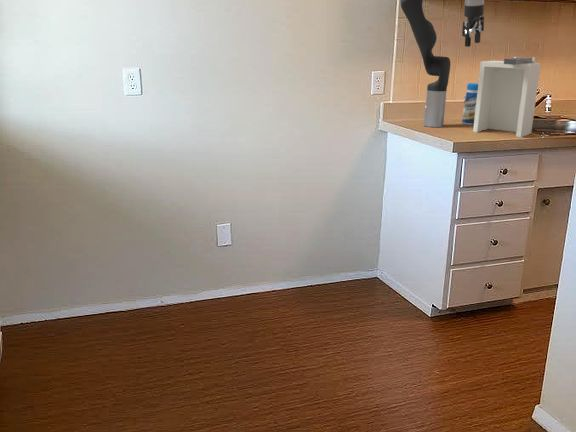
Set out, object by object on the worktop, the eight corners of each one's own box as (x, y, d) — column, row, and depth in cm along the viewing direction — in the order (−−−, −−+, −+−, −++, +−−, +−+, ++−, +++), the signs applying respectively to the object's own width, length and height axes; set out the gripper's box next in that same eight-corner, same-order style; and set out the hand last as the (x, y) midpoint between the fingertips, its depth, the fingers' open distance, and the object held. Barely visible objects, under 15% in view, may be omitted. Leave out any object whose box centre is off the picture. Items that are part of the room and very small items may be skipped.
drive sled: (503, 63, 268) (504, 58, 267) (521, 62, 286) (521, 57, 286) (515, 64, 265) (515, 59, 264) (532, 62, 283) (532, 57, 283)
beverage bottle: (480, 123, 317) (485, 83, 311) (475, 125, 310) (480, 84, 305) (464, 122, 322) (468, 82, 316) (459, 123, 315) (463, 83, 309)
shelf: (473, 131, 292) (481, 55, 282) (485, 127, 304) (493, 55, 294) (520, 137, 279) (530, 58, 269) (531, 133, 292) (541, 57, 281)
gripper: (474, 6, 244) (472, 48, 251) (491, 1, 254) (488, 42, 260) (457, 6, 249) (455, 47, 256) (473, 1, 258) (472, 41, 265)
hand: (472, 44), depth 258 cm, fingers open, 8 cm apart
